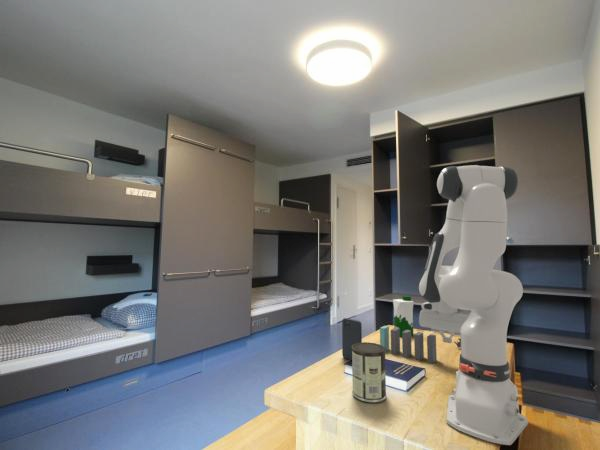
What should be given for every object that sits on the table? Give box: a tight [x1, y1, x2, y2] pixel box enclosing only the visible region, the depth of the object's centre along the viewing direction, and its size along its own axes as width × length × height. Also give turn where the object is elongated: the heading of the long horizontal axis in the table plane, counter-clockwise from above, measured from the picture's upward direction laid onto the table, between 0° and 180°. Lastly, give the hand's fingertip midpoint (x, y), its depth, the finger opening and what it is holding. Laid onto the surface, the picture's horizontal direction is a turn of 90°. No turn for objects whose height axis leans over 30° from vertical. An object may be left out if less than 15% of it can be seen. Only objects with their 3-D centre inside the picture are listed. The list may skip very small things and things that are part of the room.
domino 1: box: [379, 325, 390, 352], centre depth 131 cm, size 2×5×10 cm, turn 140°
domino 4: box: [413, 331, 425, 362], centre depth 121 cm, size 2×5×10 cm, turn 140°
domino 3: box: [401, 330, 413, 359], centre depth 124 cm, size 2×5×10 cm, turn 140°
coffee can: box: [351, 341, 387, 403], centre depth 91 cm, size 10×10×14 cm
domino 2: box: [390, 327, 401, 356], centre depth 127 cm, size 2×5×10 cm, turn 140°
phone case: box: [341, 317, 363, 361], centre depth 119 cm, size 9×2×16 cm, turn 46°
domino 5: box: [426, 333, 437, 365], centre depth 118 cm, size 2×5×10 cm, turn 140°
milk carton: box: [392, 295, 415, 338], centre depth 154 cm, size 9×9×20 cm
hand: (447, 342), depth 115 cm, fingers closed
